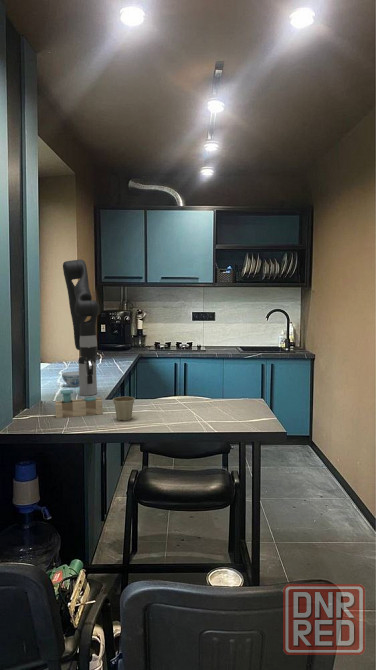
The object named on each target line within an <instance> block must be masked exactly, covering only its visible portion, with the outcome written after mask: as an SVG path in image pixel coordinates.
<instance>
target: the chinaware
mask: <svg viewBox="0 0 376 670" xmlns="http://www.w3.org/2000/svg"><path fill="white" fill-rule="evenodd" d="M61 377H62V380H63V381H64V382H65V383H66V384H67V385H68V386H69V388H78V386H79V370H76V371H67V372H62V373H61ZM79 387H80V386H79Z"/></svg>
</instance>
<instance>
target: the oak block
mask: <svg viewBox="0 0 376 670" xmlns="http://www.w3.org/2000/svg"><path fill="white" fill-rule="evenodd" d="M54 404H55V405H54V406H55V418H56V419H62V418H71V417H72V418H73V417H81V416H82V417H83V416H93V415H94V416H95V414H97V415H103V414H104V413H103V411H104V410H103V400H102V397H96V400H95V401H84V398H80V399H79V398H78V399H71V403H63V400H55V403H54Z"/></svg>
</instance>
